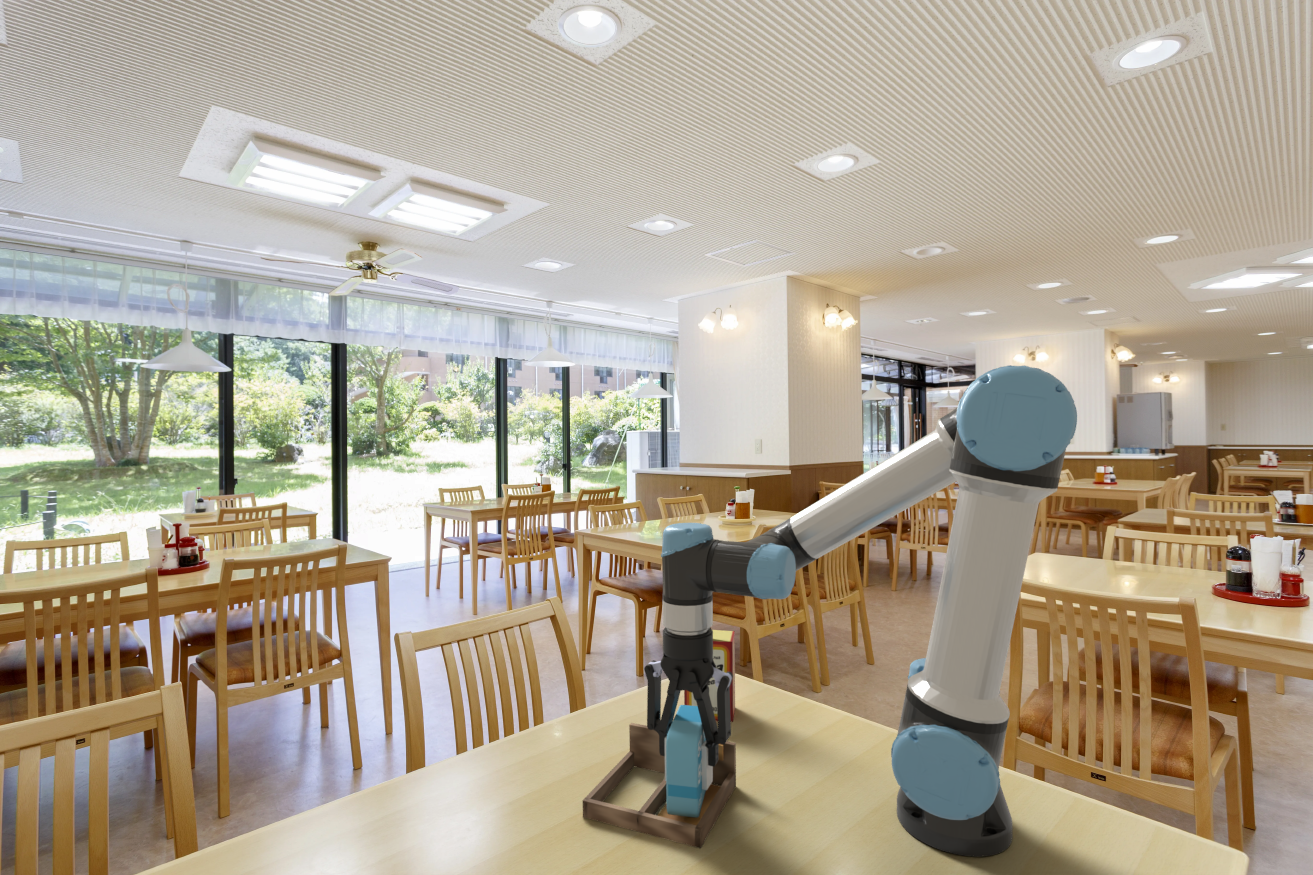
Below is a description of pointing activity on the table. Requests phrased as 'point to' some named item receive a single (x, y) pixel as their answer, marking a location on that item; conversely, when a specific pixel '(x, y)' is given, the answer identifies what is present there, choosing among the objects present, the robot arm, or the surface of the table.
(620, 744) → the table surface
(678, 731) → the blue rounded block
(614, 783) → the rack
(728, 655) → the baking soda box
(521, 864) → the table surface
